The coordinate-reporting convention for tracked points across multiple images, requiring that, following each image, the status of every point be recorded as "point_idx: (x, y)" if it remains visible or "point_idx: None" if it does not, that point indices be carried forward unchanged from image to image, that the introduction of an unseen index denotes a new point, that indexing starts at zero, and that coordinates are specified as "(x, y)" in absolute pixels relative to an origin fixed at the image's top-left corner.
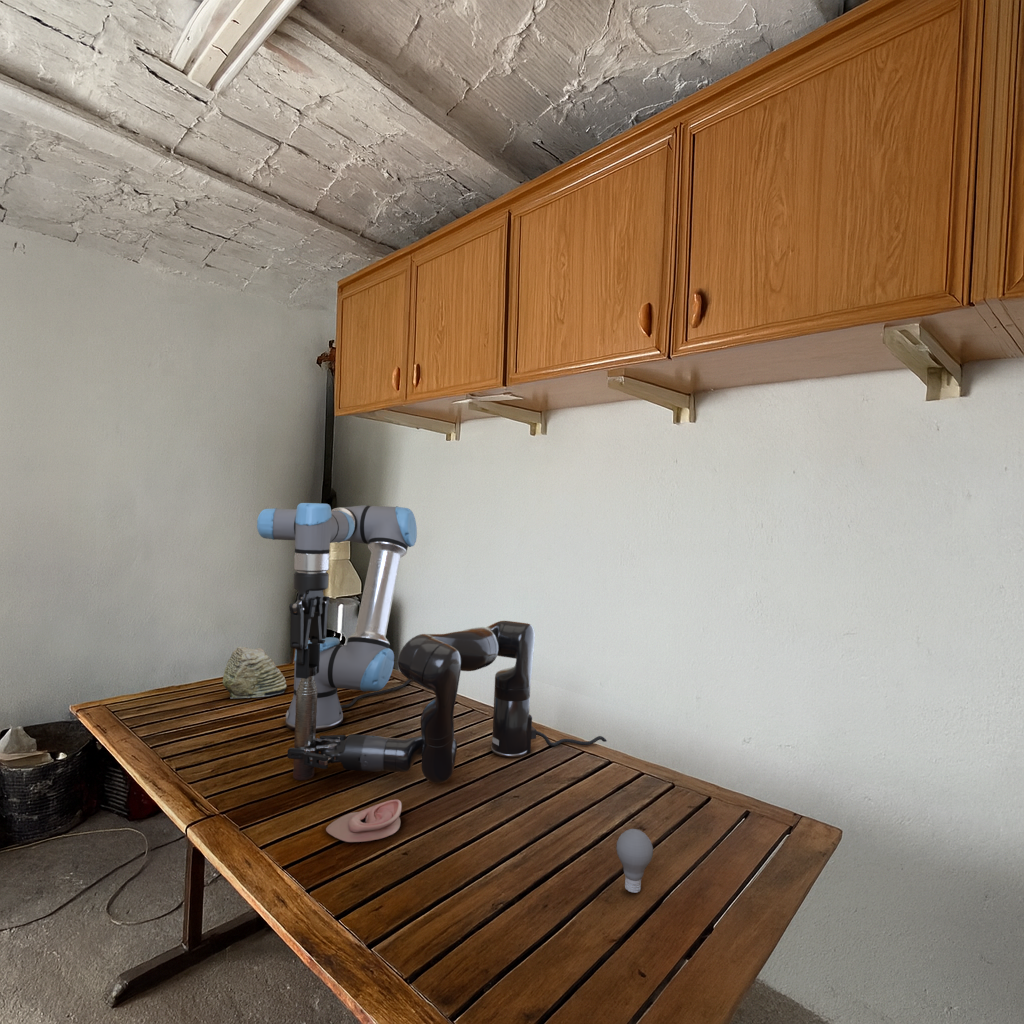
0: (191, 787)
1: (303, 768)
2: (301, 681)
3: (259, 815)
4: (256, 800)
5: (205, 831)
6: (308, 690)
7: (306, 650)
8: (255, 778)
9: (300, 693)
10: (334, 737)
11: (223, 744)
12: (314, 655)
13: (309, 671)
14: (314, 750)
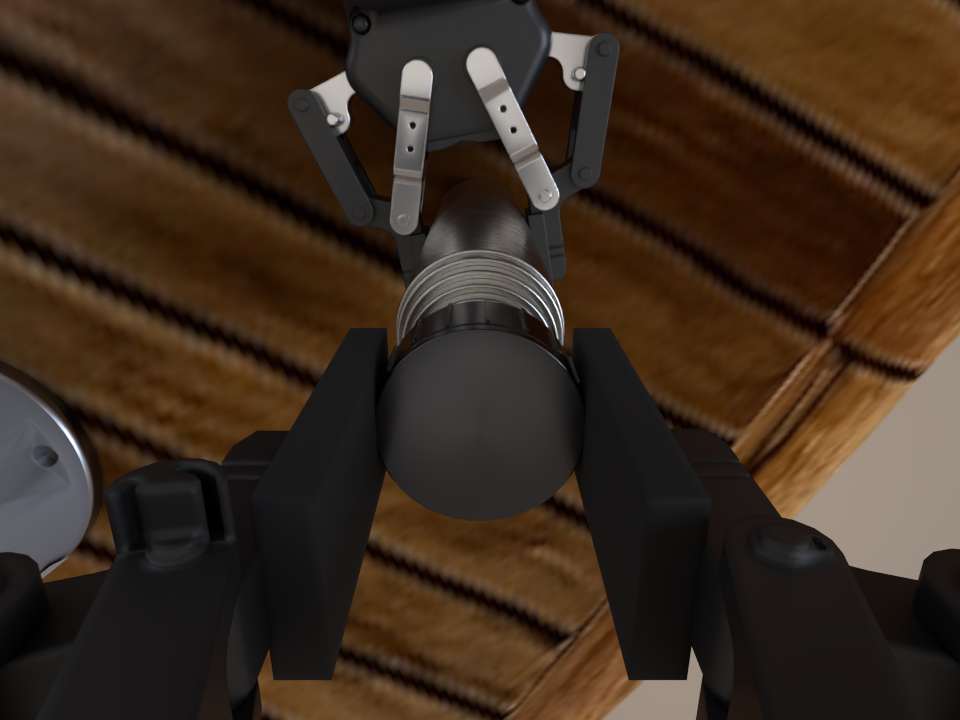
0: None
1: (520, 207)
2: None
3: (825, 198)
4: (717, 276)
5: (950, 305)
6: (541, 295)
7: (698, 511)
8: None
9: None
10: (339, 144)
11: None
12: (357, 461)
13: (557, 352)
14: (541, 154)
